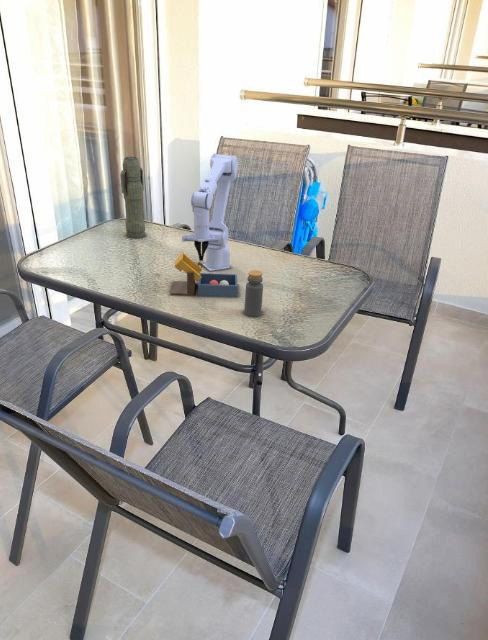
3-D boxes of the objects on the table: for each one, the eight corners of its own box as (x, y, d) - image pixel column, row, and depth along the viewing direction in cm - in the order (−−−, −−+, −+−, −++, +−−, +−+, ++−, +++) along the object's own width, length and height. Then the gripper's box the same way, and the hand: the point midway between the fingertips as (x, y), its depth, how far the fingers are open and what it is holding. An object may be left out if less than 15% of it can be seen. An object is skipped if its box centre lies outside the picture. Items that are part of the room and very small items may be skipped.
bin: (198, 296, 186) (198, 284, 184) (199, 283, 196) (199, 272, 193) (237, 297, 187) (237, 286, 184) (236, 284, 196) (236, 274, 194)
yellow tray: (174, 267, 182) (181, 259, 180) (177, 252, 194) (184, 245, 193) (196, 285, 186) (203, 277, 184) (197, 270, 198) (204, 262, 197)
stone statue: (120, 236, 239) (113, 158, 220) (137, 230, 247) (132, 154, 229) (134, 240, 235) (129, 161, 216) (151, 234, 243) (147, 157, 225)
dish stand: (171, 295, 186) (170, 272, 181) (173, 282, 195) (173, 261, 191) (193, 295, 186) (193, 273, 181) (195, 283, 196) (195, 262, 191)
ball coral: (209, 279, 191) (215, 286, 193) (205, 285, 189) (211, 292, 191) (216, 276, 189) (221, 284, 191) (212, 282, 187) (218, 290, 188)
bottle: (243, 309, 178) (245, 269, 170) (259, 309, 179) (263, 269, 171) (245, 316, 173) (247, 276, 165) (262, 316, 174) (265, 276, 166)
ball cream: (221, 286, 193) (229, 281, 192) (224, 293, 191) (231, 287, 190) (216, 282, 190) (223, 276, 189) (218, 288, 188) (226, 283, 187)
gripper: (181, 227, 184) (181, 263, 191) (221, 229, 184) (220, 264, 191) (182, 221, 190) (183, 256, 197) (221, 223, 190) (220, 257, 197)
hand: (201, 259), depth 195 cm, fingers closed
